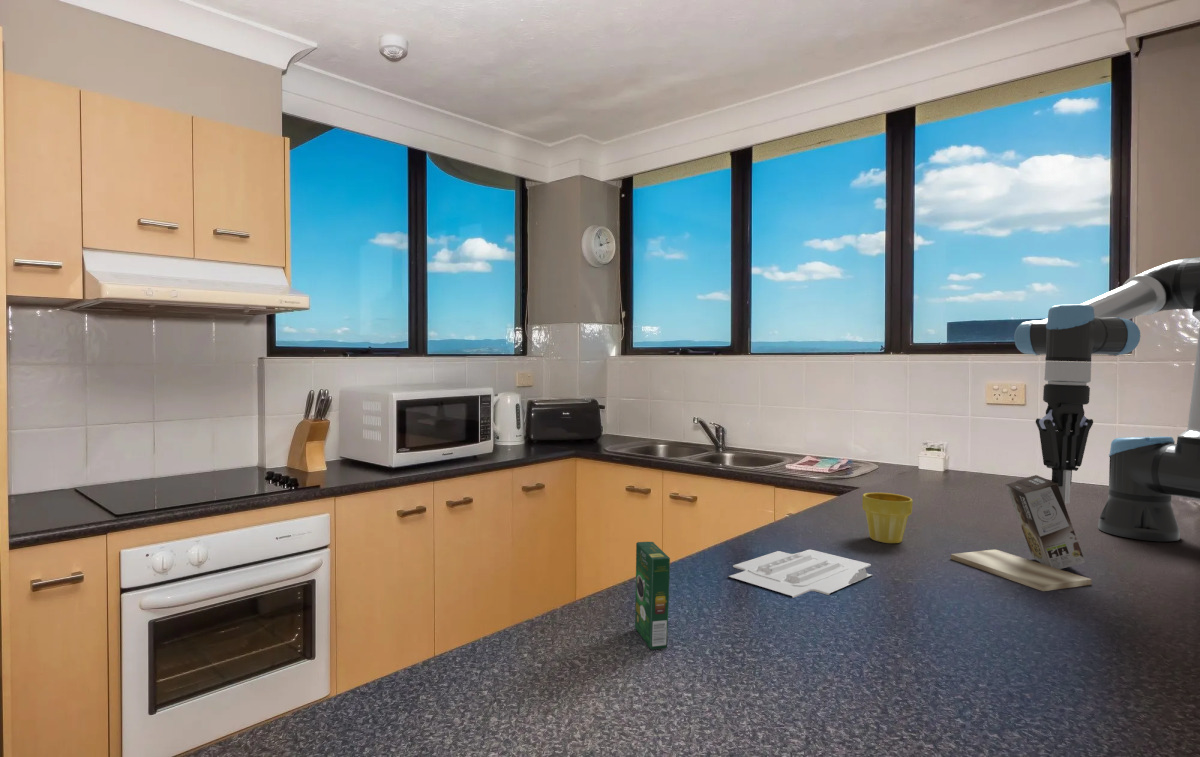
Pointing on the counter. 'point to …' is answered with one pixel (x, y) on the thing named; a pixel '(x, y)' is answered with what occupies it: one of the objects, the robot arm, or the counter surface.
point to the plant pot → (886, 515)
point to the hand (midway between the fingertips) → (1060, 502)
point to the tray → (801, 572)
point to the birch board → (1021, 570)
